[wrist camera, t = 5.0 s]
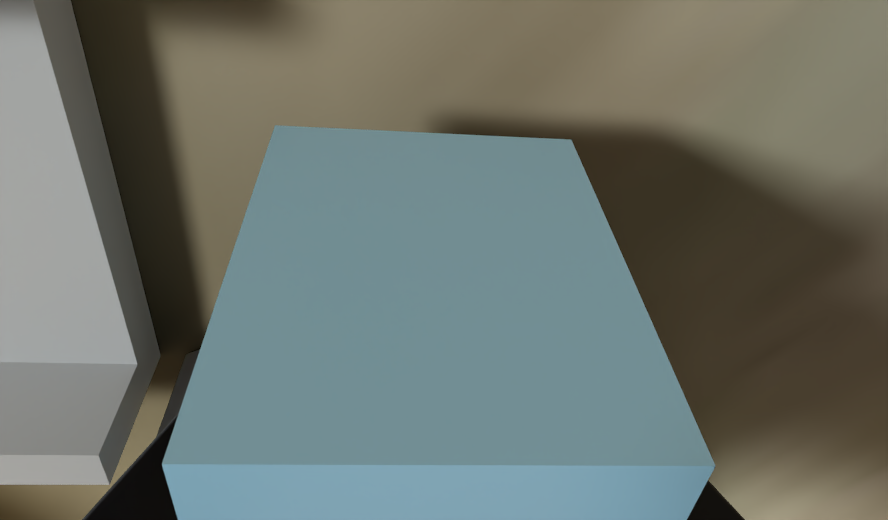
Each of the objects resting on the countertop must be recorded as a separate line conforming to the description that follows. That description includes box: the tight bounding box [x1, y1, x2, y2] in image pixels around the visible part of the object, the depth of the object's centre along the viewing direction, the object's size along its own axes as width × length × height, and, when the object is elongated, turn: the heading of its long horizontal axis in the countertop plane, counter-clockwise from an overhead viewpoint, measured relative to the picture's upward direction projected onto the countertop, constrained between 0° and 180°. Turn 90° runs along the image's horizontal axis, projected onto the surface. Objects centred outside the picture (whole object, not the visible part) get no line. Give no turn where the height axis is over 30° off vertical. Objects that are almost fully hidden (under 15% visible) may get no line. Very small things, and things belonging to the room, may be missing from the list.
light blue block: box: [162, 125, 715, 520], centre depth 8 cm, size 6×4×6 cm, turn 175°
